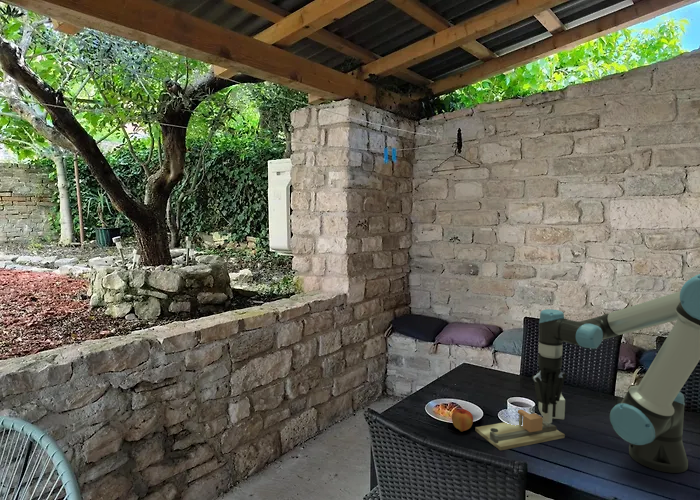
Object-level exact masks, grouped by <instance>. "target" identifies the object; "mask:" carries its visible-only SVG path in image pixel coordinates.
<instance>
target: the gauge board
mask: <svg viewBox="0 0 700 500" xmlns="http://www.w3.org/2000/svg"><path fill="white" fill-rule="evenodd" d="M505 422H506V421H504V422H498V423H493V424H487V425H481V426H475V427H474V428H475V432H476V433H477V434H479V435H480V436H481V437H482V438H484V439H485V440H486V441H487V442H489V443H490V444H491V445H493V446H494V447H495V448H496V449H498V450H499V451H505V450H511V449H514V448H519V447H525V446H530V445H534V444H539V443H546V442H550V441H555V440H560V439H561V440H562V439H565V438H566V437H565V436H566V435H565V433H563V432H562V431H559V430H558V429H557V425H555V424H552V423H547V422H546V421H544V420H543V422H542V430H540V431H535V432H529V431H527V430H526V429H524V428H523V426H521V425H516V426H515V425H511V424H507V423H505Z"/></svg>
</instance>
